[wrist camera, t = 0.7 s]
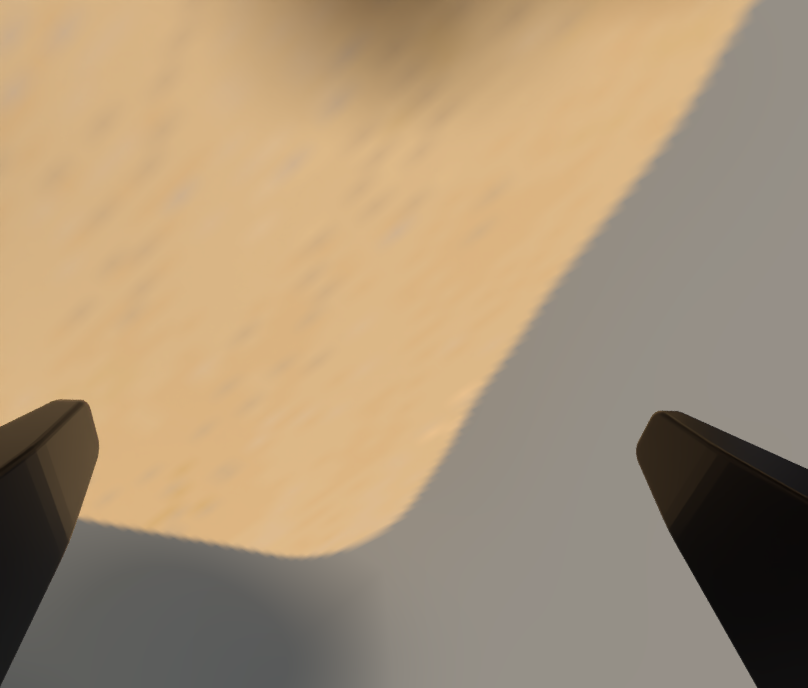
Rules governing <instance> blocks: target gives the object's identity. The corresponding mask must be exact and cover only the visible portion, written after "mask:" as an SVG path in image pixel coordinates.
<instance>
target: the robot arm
mask: <svg viewBox="0 0 808 688" xmlns="http://www.w3.org/2000/svg"><path fill="white" fill-rule="evenodd" d="M98 453H99V440H98V436H97V432H96V428H95V424H94V421H93V417H92V413H91V409H90V406H89V405H88V403H87V402H85V401H84V400H62V399H59V400H55V401H52V402H50V403H48V404H46V405H44V406H42V407H40V408H38V409H36V410H34V411H32V412H29V413H27V414H25V415H23V416H21V417H19V418H17V419H15V420H13V421H11V422H9V423H7V424H5V425H3V426H1V427H0V686H1V684H2V682H3V680H4V678H5V676H6V674H7V671H8V670H9V668H10V665H11V663H12V661H13V659H14V657H15V655H16V653H17V651H18V649H19V647H20V644H21V642H22V640H23V638H24V636H25V634H26V632H27V630H28V628H29V626H30V624H31V622H32V620H33V617H34V616H35V614H36V611H37V609H38V607H39V605H40V603H41V601H42V599H43V597H44V595H45V593H46V591H47V589H48V586H49V584H50V582H51V580H52V578H53V576H54V574H55V572H56V570H57V568H58V566H59V563H60V562H61V559H62V557H63V555H64V553H65V551H66V548H67V546H68V544H69V541H70V538H71V536H72V533H73V530H74V528H75V525H76V522H77V519H78V516H79V513H80V510H81V507H82V504H83V500H84V497H85V494H86V491H87V488H88V485H89V482H90V479H91V476H92V473H93V470H94V467H95V464H96V461H97V458H98ZM636 455H637V460H638V463H639V465H640V467H641V469H642V472H643V474H644V476H645V479H646V480H647V483H648V485H649V488H650V490H651V492H652V495H653V497H654V499H655V501H656V504H657V506H658V508H659V511H660V513H661V515H662V517H663V520H664V522H665V524H666V526H667V528H668V530H669V532H670V534H671V536H672V538H673V540H674V542H675V543H676V545H677V547H678V549H679V550H680V552H681V554H682V556H683V557H684V559H685V561H686V563H687V564H688V566H689V568H690V570H691V572H692V573H693V575H694V577H695V579H696V580H697V582H698V584H699V586H700V587H701V589H702V591H703V593H704V595H705V596H706V598H707V600H708V601H709V603H710V605H711V607H712V609H713V610H714V612H715V614H716V616H717V617H718V619H719V621H720V623H721V624H722V626H723V628H724V630H725V632H726V633H727V635H728V637H729V639H730V640H731V642H732V644H733V646H734V647H735V649H736V651H737V653H738V655H739V656H740V658H741V660H742V662H743V663H744V665H745V667H746V669H747V670H748V672H749V674H750V676H751V677H752V679H753V681H754V683H755V684H756V686H757V688H808V469H806V468H804V467H802V466H800V465H798V464H795V463H793V462H791V461H788V460H786V459H784V458H782V457H780V456H778V455H775V454H773V453H771V452H769V451H767V450H764V449H762V448H760V447H758V446H755V445H753V444H751V443H749V442H746V441H744V440H742V439H739V438H738V437H735V436H733V435H731V434H729V433H727V432H724V431H722V430H720V429H718V428H716V427H713V426H711V425H709V424H707V423H704V422H702V421H700V420H698V419H696V418H693V417H691V416H689V415H687V414H684V413H682V412H679V411H658V412H655V413H654V414H653V415H652V417H651V418H650V421H649V422H648V424H647V426H646V428H645V430H644V432H643V434H642V436H641V437H640V439H639V441H638V444H637V448H636Z"/></svg>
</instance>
